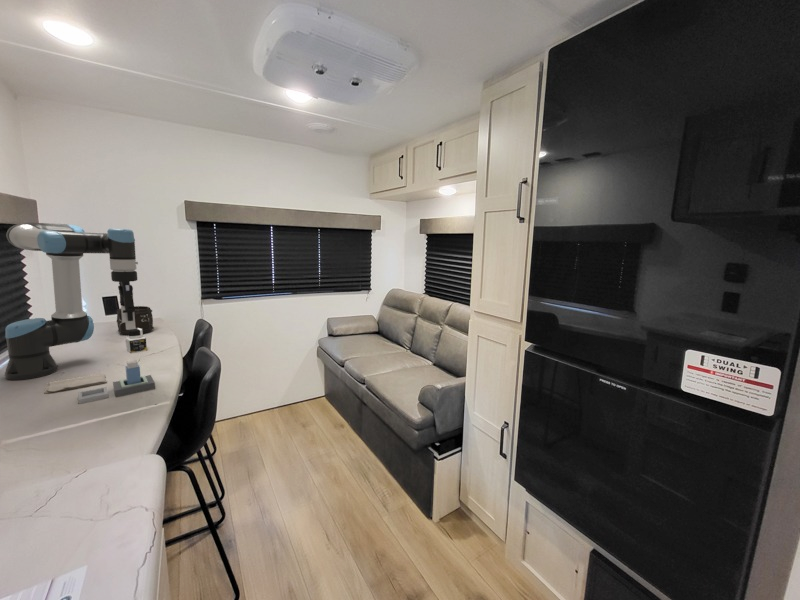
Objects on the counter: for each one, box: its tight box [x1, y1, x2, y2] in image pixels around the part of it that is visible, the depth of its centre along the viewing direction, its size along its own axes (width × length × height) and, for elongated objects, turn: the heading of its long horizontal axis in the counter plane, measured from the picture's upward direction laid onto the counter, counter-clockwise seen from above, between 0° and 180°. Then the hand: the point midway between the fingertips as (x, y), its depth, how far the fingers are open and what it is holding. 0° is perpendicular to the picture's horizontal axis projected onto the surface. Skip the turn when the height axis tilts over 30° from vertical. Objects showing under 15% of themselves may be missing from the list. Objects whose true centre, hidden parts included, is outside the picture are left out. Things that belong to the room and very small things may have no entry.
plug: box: [125, 359, 141, 385], centre depth 130 cm, size 4×4×12 cm
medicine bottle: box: [125, 328, 148, 354], centre depth 176 cm, size 7×7×12 cm
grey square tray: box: [77, 386, 110, 405], centre depth 123 cm, size 8×8×2 cm
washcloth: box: [43, 373, 108, 395], centre depth 132 cm, size 12×18×3 cm, turn 134°
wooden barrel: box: [116, 305, 154, 337], centre depth 209 cm, size 18×18×16 cm
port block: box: [112, 374, 156, 398], centre depth 131 cm, size 12×10×4 cm
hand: (128, 325), depth 127 cm, fingers open, 13 cm apart
